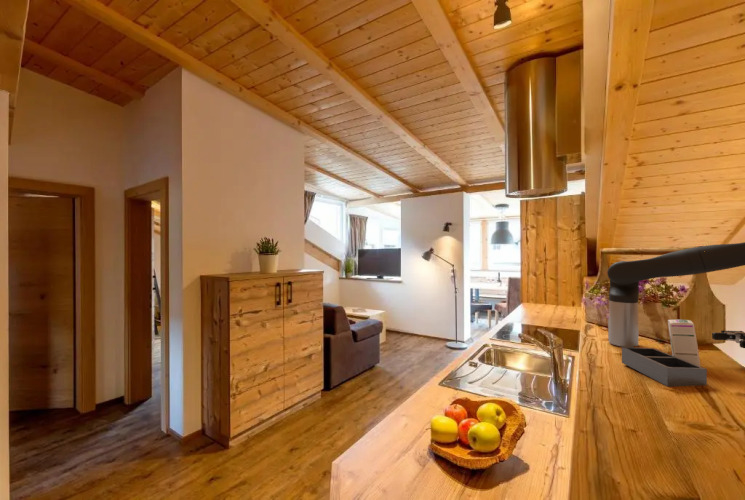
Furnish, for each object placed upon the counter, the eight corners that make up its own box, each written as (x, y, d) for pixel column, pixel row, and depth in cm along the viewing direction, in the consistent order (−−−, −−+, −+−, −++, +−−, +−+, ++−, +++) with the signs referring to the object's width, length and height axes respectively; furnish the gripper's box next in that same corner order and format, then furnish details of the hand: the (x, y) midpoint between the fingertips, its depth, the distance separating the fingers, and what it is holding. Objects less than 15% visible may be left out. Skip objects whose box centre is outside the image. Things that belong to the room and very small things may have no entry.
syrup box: (702, 372, 95) (695, 323, 96) (675, 369, 99) (669, 322, 99) (698, 366, 100) (692, 319, 100) (672, 364, 103) (666, 318, 104)
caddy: (621, 362, 105) (621, 347, 105) (653, 363, 104) (653, 348, 104) (667, 386, 87) (667, 367, 87) (706, 387, 86) (706, 369, 86)
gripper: (760, 323, 104) (704, 322, 105) (816, 334, 89) (751, 333, 91) (760, 346, 104) (704, 345, 105) (816, 361, 89) (751, 360, 91)
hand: (726, 339), depth 98 cm, fingers open, 8 cm apart
